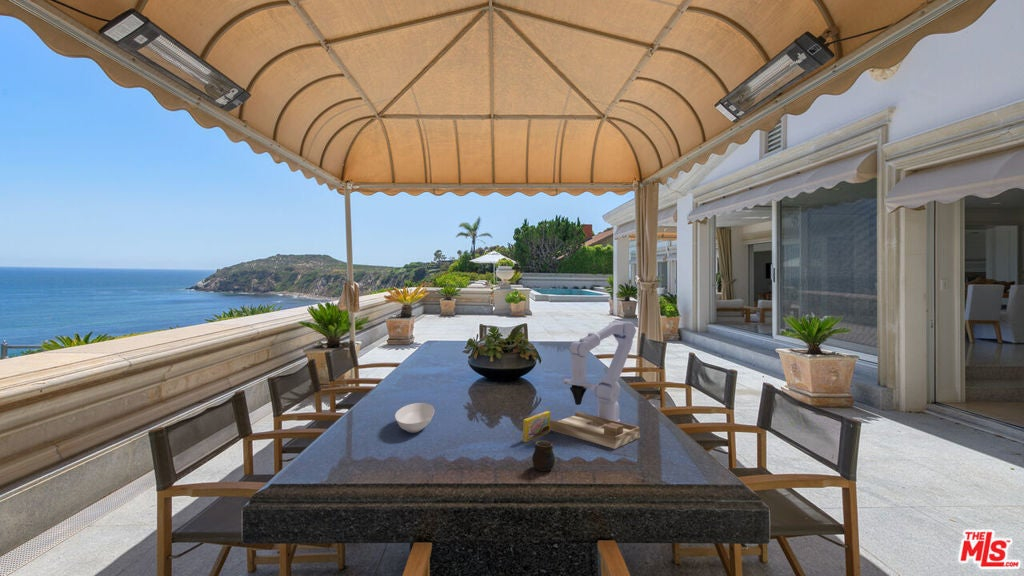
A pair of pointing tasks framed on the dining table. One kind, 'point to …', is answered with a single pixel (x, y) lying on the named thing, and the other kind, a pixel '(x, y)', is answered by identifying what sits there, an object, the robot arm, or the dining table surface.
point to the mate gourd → (543, 456)
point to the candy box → (536, 426)
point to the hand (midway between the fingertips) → (578, 404)
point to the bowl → (414, 416)
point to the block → (613, 429)
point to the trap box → (594, 430)
